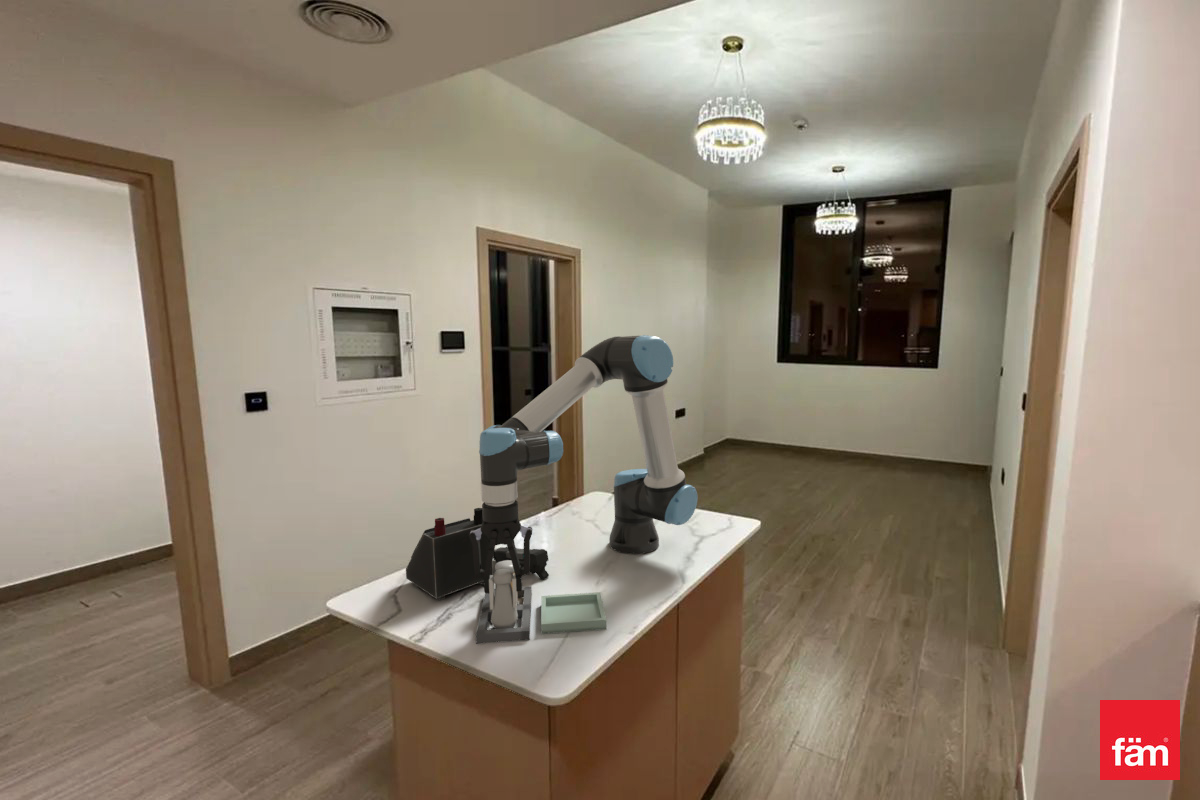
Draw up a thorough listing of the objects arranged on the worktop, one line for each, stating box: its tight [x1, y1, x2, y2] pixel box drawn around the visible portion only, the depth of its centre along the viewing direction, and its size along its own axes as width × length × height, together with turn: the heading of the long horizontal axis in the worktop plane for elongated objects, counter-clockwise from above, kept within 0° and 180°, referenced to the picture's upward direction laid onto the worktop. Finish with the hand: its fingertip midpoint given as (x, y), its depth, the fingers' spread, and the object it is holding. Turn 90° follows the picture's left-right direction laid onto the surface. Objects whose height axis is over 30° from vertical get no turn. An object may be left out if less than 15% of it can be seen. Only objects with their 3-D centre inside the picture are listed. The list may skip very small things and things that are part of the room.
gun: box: [493, 546, 550, 581], centre depth 148 cm, size 4×20×10 cm, turn 49°
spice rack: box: [475, 560, 533, 645], centre depth 122 cm, size 11×21×10 cm, turn 6°
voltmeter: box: [405, 507, 494, 601], centre depth 140 cm, size 16×16×20 cm
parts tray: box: [540, 591, 608, 635], centre depth 122 cm, size 14×13×2 cm
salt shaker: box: [490, 569, 519, 629], centre depth 117 cm, size 6×6×13 cm
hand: (503, 605), depth 117 cm, fingers closed on salt shaker, 4 cm apart
